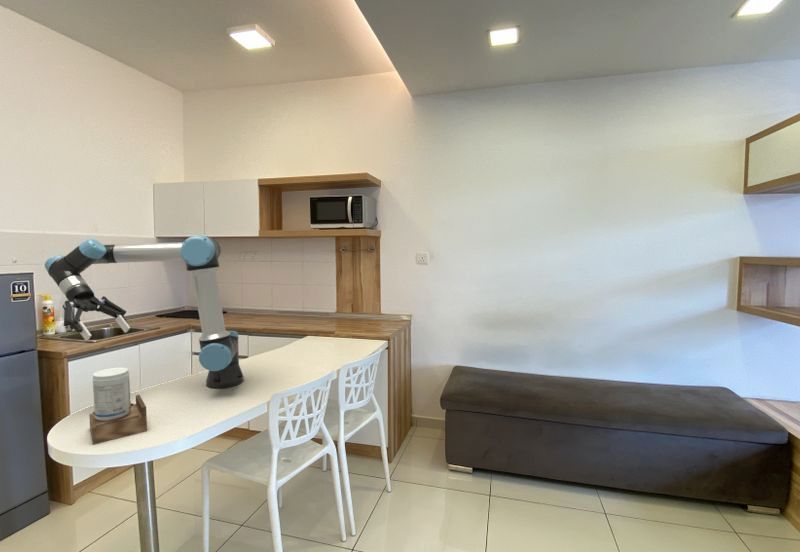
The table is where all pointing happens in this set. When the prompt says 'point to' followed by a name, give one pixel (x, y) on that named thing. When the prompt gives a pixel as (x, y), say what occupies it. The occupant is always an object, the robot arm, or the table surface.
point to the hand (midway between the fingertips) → (109, 334)
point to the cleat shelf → (120, 424)
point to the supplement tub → (111, 393)
